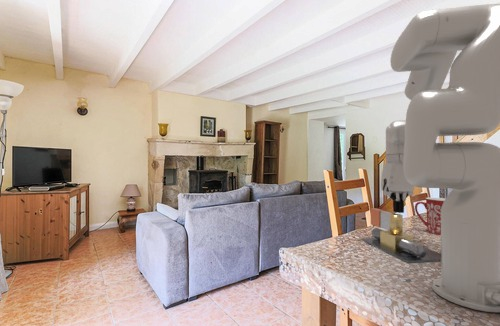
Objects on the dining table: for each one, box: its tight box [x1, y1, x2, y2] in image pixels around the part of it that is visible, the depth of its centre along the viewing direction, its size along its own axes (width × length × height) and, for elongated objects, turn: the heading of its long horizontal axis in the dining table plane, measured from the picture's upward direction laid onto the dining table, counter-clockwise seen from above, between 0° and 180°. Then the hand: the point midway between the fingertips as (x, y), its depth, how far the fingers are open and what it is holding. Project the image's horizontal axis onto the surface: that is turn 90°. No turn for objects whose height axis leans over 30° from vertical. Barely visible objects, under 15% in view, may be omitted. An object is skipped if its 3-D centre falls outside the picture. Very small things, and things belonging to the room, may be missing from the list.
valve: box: [361, 227, 441, 264], centre depth 84 cm, size 22×14×5 cm, turn 9°
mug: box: [414, 197, 447, 236], centre depth 105 cm, size 13×9×14 cm
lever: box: [370, 207, 404, 234], centre depth 88 cm, size 14×4×6 cm, turn 8°
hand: (398, 212), depth 92 cm, fingers closed
